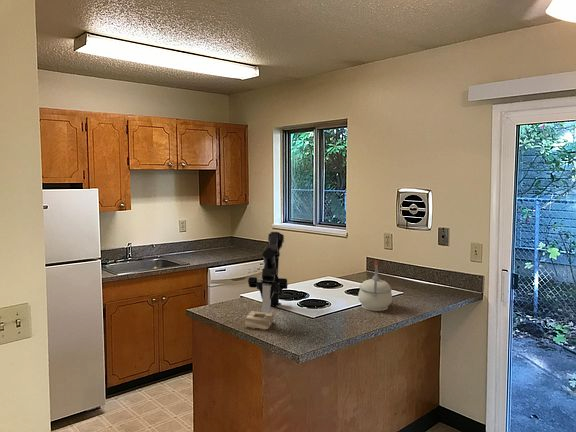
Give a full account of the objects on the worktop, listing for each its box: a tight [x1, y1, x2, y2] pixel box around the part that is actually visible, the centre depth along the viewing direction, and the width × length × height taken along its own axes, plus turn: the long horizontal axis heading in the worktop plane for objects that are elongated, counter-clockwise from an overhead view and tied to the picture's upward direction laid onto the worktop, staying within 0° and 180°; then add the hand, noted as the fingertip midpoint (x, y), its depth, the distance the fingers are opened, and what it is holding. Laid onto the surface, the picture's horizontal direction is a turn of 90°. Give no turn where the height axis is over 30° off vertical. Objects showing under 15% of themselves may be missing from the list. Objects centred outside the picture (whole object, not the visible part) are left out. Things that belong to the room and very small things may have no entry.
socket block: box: [244, 310, 274, 330], centre depth 224 cm, size 11×11×4 cm
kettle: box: [357, 259, 393, 312], centre depth 258 cm, size 25×18×25 cm
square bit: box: [261, 283, 272, 313], centre depth 223 cm, size 4×4×13 cm
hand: (266, 298), depth 221 cm, fingers closed on square bit, 4 cm apart
